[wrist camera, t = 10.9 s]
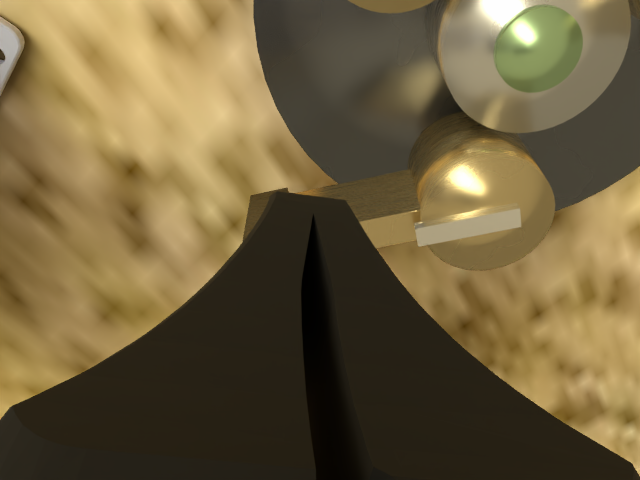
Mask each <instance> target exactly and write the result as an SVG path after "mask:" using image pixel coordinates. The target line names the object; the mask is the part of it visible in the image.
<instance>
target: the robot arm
mask: <svg viewBox="0 0 640 480" xmlns="http://www.w3.org/2000/svg"><path fill="white" fill-rule="evenodd" d="M24 44H25V42H24V37H23V35H22V34H21V32H20V30H19V29H17V28H16V27H15V26H14V25H13V24H11V23H9V22H8V21H6V20H5V19H3V18H2V17H0V49H1V50H2V51H3V52H4V55H5V60H1V59H0V96H1V94H2V92H3V90H4V88H5V86H6V84H7V82H8V79H9V77H10V75H11V73H12V71H13V69H14V67H15V65H16V63H17V61H18V59H19V57H20V55H21V53H22V51H23V49H24ZM0 480H640V476H639V475H638V473H637V471H636V470H635V468H634V466H633V464H632V463H631V462H629V461H627V460H625V459H624V458H622V457H620V456H619V455H617V454H615V453H614V452H612V451H610V450H609V449H607V448H605V447H604V446H602V445H600V444H598V443H597V442H595V441H593V440H592V439H590V438H588V437H587V436H585V435H583V434H582V433H580V432H578V431H577V430H575V429H573V428H571V427H570V426H568V425H566V424H565V423H563V422H562V421H560V420H559V419H557V418H555V417H554V416H552V415H551V414H550V413H548V412H547V411H545V410H544V409H542V408H541V407H539V406H538V405H536V404H535V403H534V402H532V401H531V400H529V399H528V398H526V397H525V396H523V395H522V394H520V393H519V392H518V391H516V390H515V389H514V388H512V387H511V386H510V385H508V384H507V383H506V382H504V381H503V380H502V379H500V378H499V377H498V376H496V375H495V374H494V373H493V372H492V371H490V370H489V369H488V368H487V367H486V366H484V365H483V364H482V363H481V362H479V361H478V360H477V359H476V358H475V357H473V356H472V355H471V354H470V353H469V352H467V351H466V350H465V349H464V348H463V347H462V346H461V345H460V344H458V343H457V342H456V341H455V340H454V339H453V338H452V337H451V336H450V335H449V334H448V333H447V332H446V331H445V330H444V329H443V328H442V327H441V326H440V325H439V324H438V323H437V322H436V321H435V320H434V319H433V318H432V317H431V316H430V315H429V314H428V313H427V312H426V311H425V310H424V309H423V308H422V307H421V306H420V305H419V304H418V303H417V302H416V300H415V299H414V298H413V297H412V296H411V294H410V293H409V292H408V291H407V290H406V288H405V287H404V286H403V285H402V284H401V282H400V281H399V280H398V279H397V277H396V276H395V275H394V273H393V272H392V271H391V269H390V268H389V266H388V265H387V264H386V262H385V261H384V259H383V258H382V257H381V255H380V254H379V252H378V251H377V249H376V248H375V246H374V245H373V243H372V242H371V240H370V239H369V237H368V236H367V234H366V232H365V231H364V229H363V228H362V226H361V224H360V223H359V221H358V219H357V218H356V216H355V214H354V213H353V211H352V209H351V208H350V206H349V205H348V203H347V202H346V200H341V199H334V198H326V197H318V196H311V195H303V194H295V193H288V192H280V191H276V192H275V193H273V194H272V195H270V197H269V201H268V203H267V205H266V208H265V209H264V211H263V213H262V215H261V217H260V218H259V220H258V221H257V223H256V224H255V226H254V228H253V229H252V230H251V232H250V233H249V234H248V236H247V237H246V238H245V240H244V241H243V243H242V244H241V245H240V247H239V248H238V249H237V250H236V252H235V253H234V254H233V255H232V256H231V257H230V258H229V260H228V261H227V262H226V263H225V264H224V265H223V266H222V267H221V269H220V270H219V271H218V272H217V273H216V274H215V275H214V276H213V277H212V278H211V279H210V280H209V281H208V282H207V283H206V284H205V285H204V286H203V287H202V288H201V289H200V290H199V291H198V292H197V293H196V294H195V295H194V296H192V297H191V298H190V299H189V300H188V301H187V302H186V303H185V304H183V305H182V306H181V307H180V308H179V309H177V310H176V311H175V312H174V313H172V314H171V315H170V316H169V317H167V318H166V319H165V320H163V321H162V322H161V323H160V324H158V325H157V326H156V327H154V328H153V329H152V330H150V331H149V332H147V333H146V334H145V335H143V336H142V337H140V338H139V339H137V340H136V341H134V342H133V343H131V344H130V345H128V346H126V347H125V348H123V349H121V350H120V351H118V352H117V353H115V354H113V355H112V356H110V357H109V358H107V359H105V360H104V361H102V362H100V363H99V364H97V365H96V366H94V367H92V368H90V369H89V370H87V371H85V372H83V373H81V374H79V375H77V376H75V377H73V378H71V379H69V380H67V381H65V382H63V383H60V384H58V385H56V386H54V387H52V388H50V389H48V390H46V391H44V392H42V393H40V394H38V395H35V396H33V397H31V398H29V399H27V400H25V401H22V402H20V403H18V404H16V405H13V406H12V407H10V408H9V409H8V411H7V412H6V413H5V415H4V416H3V417H2V418H1V420H0Z"/></svg>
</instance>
